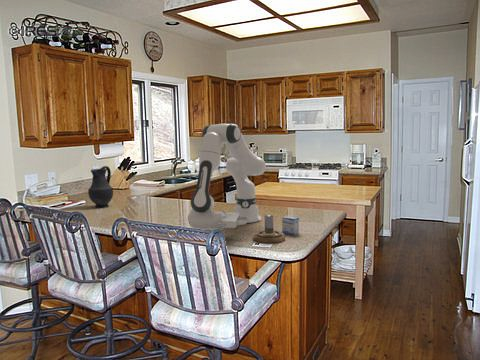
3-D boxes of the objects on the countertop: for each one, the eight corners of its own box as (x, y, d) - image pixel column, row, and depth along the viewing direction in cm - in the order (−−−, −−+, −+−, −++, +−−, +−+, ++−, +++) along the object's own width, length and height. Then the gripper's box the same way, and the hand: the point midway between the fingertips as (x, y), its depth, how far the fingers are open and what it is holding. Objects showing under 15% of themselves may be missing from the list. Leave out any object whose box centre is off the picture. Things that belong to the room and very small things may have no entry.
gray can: (263, 233, 209) (262, 214, 208) (275, 233, 208) (275, 214, 207) (262, 236, 202) (262, 216, 201) (275, 236, 202) (275, 216, 201)
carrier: (254, 234, 214) (254, 229, 214) (284, 235, 213) (284, 229, 212) (252, 243, 198) (252, 237, 198) (285, 243, 197) (285, 237, 196)
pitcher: (84, 208, 298) (81, 167, 294) (101, 203, 317) (99, 165, 314) (104, 209, 293) (102, 168, 289) (121, 204, 312) (119, 165, 309)
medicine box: (281, 233, 217) (281, 217, 216) (286, 231, 220) (286, 215, 219) (294, 235, 212) (294, 219, 211) (299, 233, 216) (299, 217, 215)
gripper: (216, 218, 196) (245, 218, 195) (222, 210, 216) (248, 210, 215) (216, 231, 197) (245, 231, 195) (222, 221, 217) (248, 222, 216)
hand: (246, 220), depth 205 cm, fingers open, 8 cm apart
